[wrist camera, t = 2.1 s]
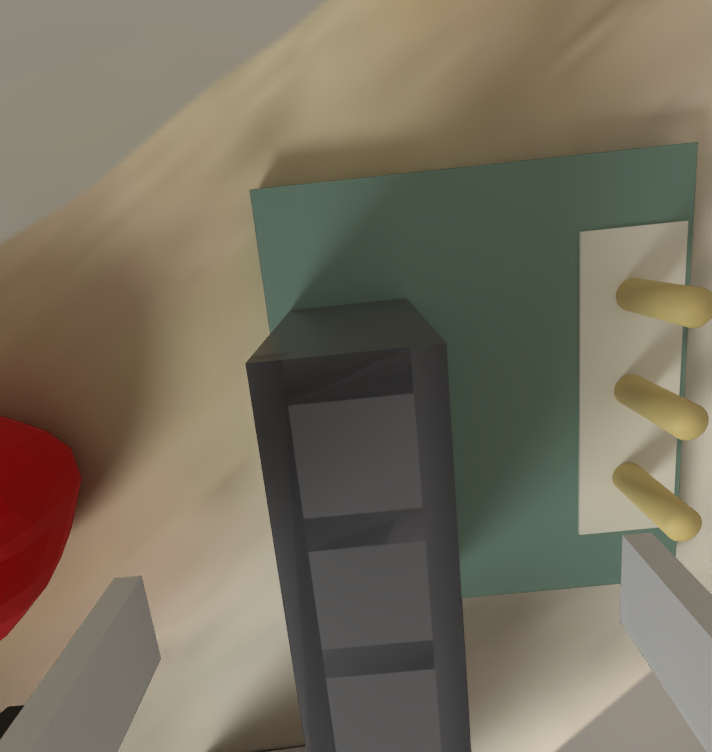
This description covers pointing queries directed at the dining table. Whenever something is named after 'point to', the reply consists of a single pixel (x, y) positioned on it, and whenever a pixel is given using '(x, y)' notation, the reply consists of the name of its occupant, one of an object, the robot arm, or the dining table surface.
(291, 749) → the coffee box
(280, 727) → the dining table surface
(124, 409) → the dining table surface
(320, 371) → the housing
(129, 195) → the dining table surface
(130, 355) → the dining table surface
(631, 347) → the board
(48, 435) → the tomato
